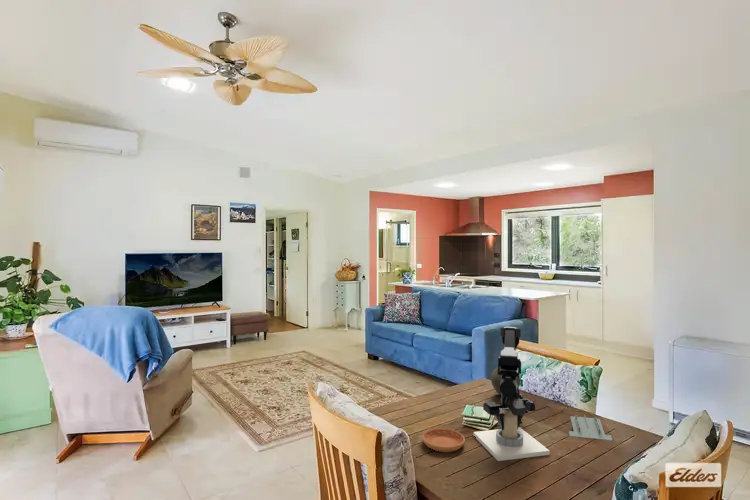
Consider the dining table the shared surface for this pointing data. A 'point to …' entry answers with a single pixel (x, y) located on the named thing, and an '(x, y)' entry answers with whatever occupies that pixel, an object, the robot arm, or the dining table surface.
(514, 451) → the collar plate
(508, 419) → the candle
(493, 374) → the dark olive sphere
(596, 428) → the metal bracket
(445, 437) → the saucer
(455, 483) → the dining table surface
